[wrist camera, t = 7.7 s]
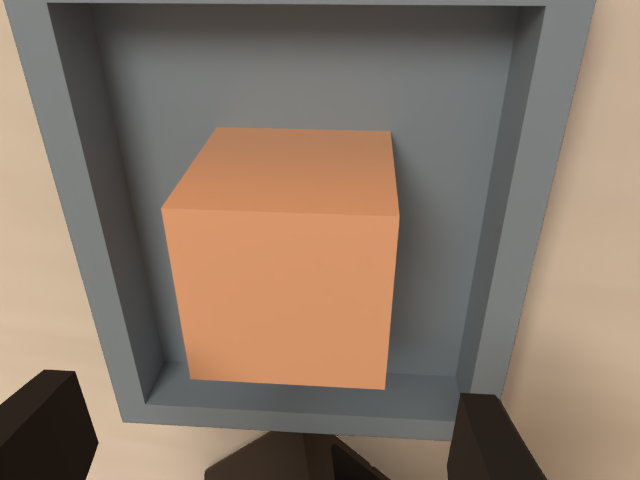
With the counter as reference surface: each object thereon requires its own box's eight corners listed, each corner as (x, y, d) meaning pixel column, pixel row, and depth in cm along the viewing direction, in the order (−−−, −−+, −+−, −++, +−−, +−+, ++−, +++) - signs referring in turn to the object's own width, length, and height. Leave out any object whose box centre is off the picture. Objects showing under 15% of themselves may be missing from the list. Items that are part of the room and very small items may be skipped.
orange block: (390, 131, 15) (399, 216, 11) (380, 276, 18) (384, 389, 14) (216, 127, 16) (161, 208, 11) (231, 269, 18) (190, 379, 14)
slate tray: (568, -55, 13) (606, -48, 11) (477, 388, 21) (489, 443, 19) (47, -55, 14) (-11, -48, 12) (146, 371, 22) (122, 422, 20)
